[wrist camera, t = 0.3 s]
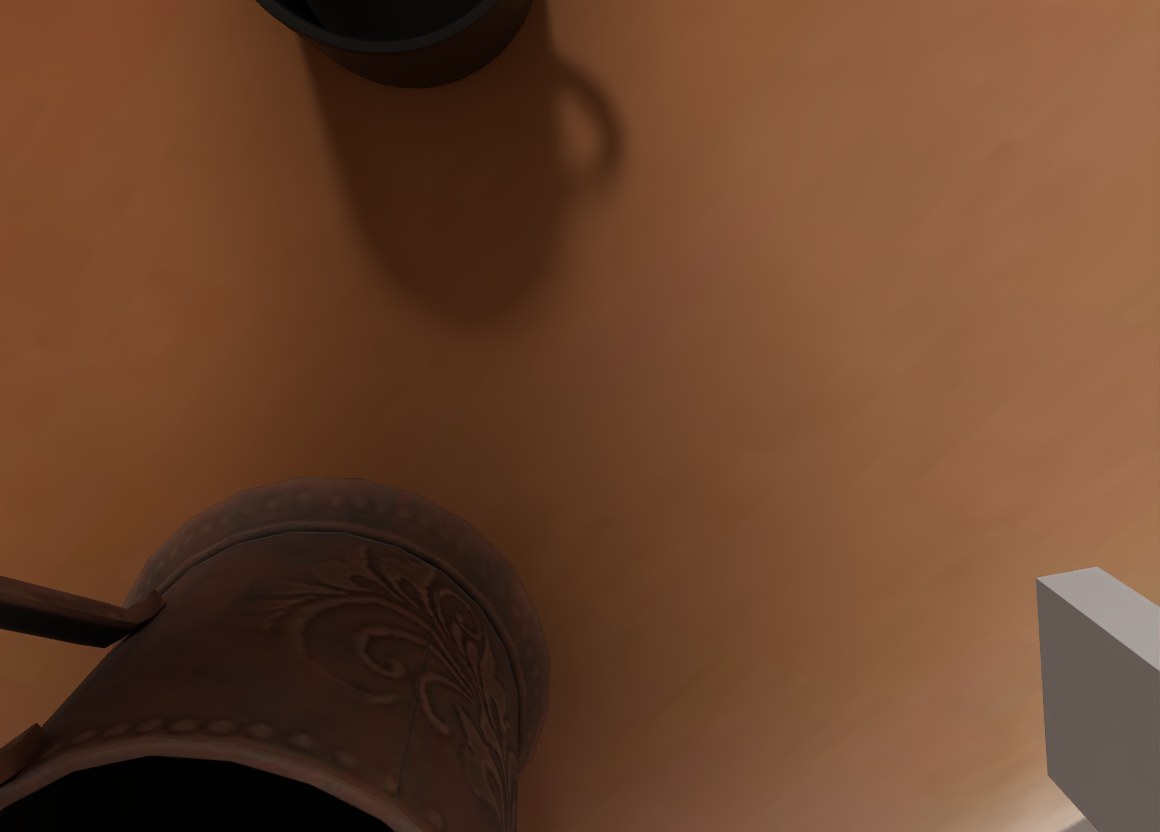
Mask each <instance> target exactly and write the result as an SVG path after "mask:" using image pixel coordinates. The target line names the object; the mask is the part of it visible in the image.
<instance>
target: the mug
mask: <svg viewBox="0 0 1160 832" xmlns="http://www.w3.org/2000/svg"><path fill="white" fill-rule="evenodd" d="M256 1H257V2H258V3H259V4H260V5H261V6H262V7H263V8H264V9H265V10H266V11H267V12H268V13H270V14H271V15H272V16H273V17H274V18H276V19H277V20H279V21H280V22H281V23H283V24H284V25H286V26H287V27H288V28H290V29H291V30H292V31H294V32H295V33H297V34H298V35H300V36H301V37H302V38H304V39H305V40H307V41H308V42H309V43H311V44H312V45H314V46H315V47H316V48H318V49H319V50H321V51H322V52H323V53H325V54H326V55H328V56H329V57H330V58H332V59H333V60H335V61H336V62H338V63H339V64H340V65H342V66H343V67H345V68H346V69H348V70H350V71H352V72H354V73H356V74H358V75H360V76H362V77H364V78H366V79H369V80H372V81H375V82H378V83H381V84H384V85H389V86H396V87H403V88H428V87H434V86H439V85H444V84H448V83H451V82H454V81H457V80H460V79H462V78H465V77H467V76H469V75H470V74H472V73H474V72H476V71H478V70H479V69H481V68H482V67H484V66H485V65H487V64H488V63H489V62H490V61H492V60H493V59H494V58H495V57H497V56H498V55H499V54H500V53H501V52H502V51H503V50H504V48H505V47H506V46H507V45H508V44H509V43H510V42H511V40H512V39H513V38H514V36H515V35H516V33H517V32H518V30H519V29H520V27H521V26H522V24H523V23H524V21H525V18H526V16H527V14H528V12H529V10H530V7H531V5H532V2H533V0H256Z"/></svg>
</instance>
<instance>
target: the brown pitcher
mask: <svg viewBox="0 0 1160 832" xmlns="http://www.w3.org/2000/svg"><path fill="white" fill-rule="evenodd" d="M0 629H5V630H10V631H15V632H20V633H25V634H30V635H35V636H40V637H45V638H50V639H55V640H60V641H65V642H70V643H74V644H80V645H86V646H93V647H100V648H106V647H108V646H110V645H111V644H113V643H114V646H113V649H112V650H111V651H110V652H109V653H108V654H107V655H106V656H105V657H104V659H103V660H102V661H101V662H100V663H99V664H98V665H97V666H96V667H95V669H94V670H93V671H92V672H91V673H90V674H89V675H88V676H87V677H86V678H85V680H84V681H83V682H82V683H81V684H80V685H79V686H78V687H77V688H76V690H75V691H74V692H73V693H72V694H71V695H70V696H69V697H68V698H67V699H66V701H65V702H64V703H63V704H62V705H61V706H60V707H59V708H58V709H57V711H56V712H55V713H54V714H53V715H52V716H51V717H50V718H49V719H48V720H47V722H46V723H45V724H44V725H43V726H42V727H40V726H39V725H38V724H37V723H36V724H34V725H33V726H31V727H30V728H29V729H27V730H26V731H24V732H23V733H22V734H20V735H19V736H17V737H16V738H15V739H13V740H12V741H10V742H9V743H8V744H6V745H5V746H3V747H2V748H1V749H0V832H517V780H518V778H519V777H520V775H521V774H522V772H523V771H524V770H525V768H526V767H527V765H528V764H529V762H530V761H531V759H532V758H533V755H534V752H535V748H536V745H537V742H538V739H539V736H540V733H541V730H542V727H543V724H544V721H545V718H546V715H547V712H548V700H549V670H550V658H549V654H548V650H547V647H546V643H545V639H544V635H543V631H542V627H541V623H540V619H539V616H538V612H537V609H536V607H535V605H534V603H533V602H532V600H531V598H530V597H529V595H528V593H527V592H526V590H525V588H524V586H523V585H522V583H521V581H520V580H519V578H518V576H517V575H516V573H515V571H514V569H513V568H512V566H511V564H510V563H509V562H508V561H507V560H506V559H505V558H504V557H503V556H502V555H501V554H500V553H499V552H498V551H497V550H496V549H495V548H494V547H493V546H492V545H491V544H490V543H489V542H488V541H487V540H486V539H485V538H484V537H483V536H482V535H481V534H480V533H479V532H477V531H476V530H475V529H474V528H473V527H472V526H471V525H470V524H469V523H468V522H466V521H464V520H462V519H461V518H459V517H457V516H455V515H454V514H452V513H450V512H448V511H447V510H445V509H443V508H441V507H439V506H438V505H436V504H434V503H432V502H431V501H429V500H427V499H425V498H424V497H422V496H420V495H418V494H415V493H411V492H408V491H404V490H400V489H397V488H393V487H389V486H386V485H382V484H378V483H375V482H371V481H367V480H363V479H358V478H306V477H299V478H295V479H290V480H286V481H282V482H278V483H273V484H269V485H265V486H261V487H256V488H252V489H248V490H244V491H240V492H239V493H237V494H235V495H233V496H231V497H229V498H227V499H225V500H224V501H222V502H220V503H218V504H216V505H214V506H212V507H211V508H209V509H207V510H205V511H203V512H201V513H199V514H197V515H196V516H194V517H192V518H190V519H189V520H188V521H187V522H186V523H185V524H184V525H183V526H182V527H181V528H180V529H179V530H177V531H176V532H175V533H174V534H173V535H172V536H171V537H170V538H169V539H168V540H167V541H166V542H165V543H164V544H163V545H162V546H161V547H160V548H159V549H158V550H157V551H156V552H155V553H154V554H153V555H152V556H150V557H149V559H148V561H147V563H146V564H145V566H144V568H143V570H142V571H141V573H140V575H139V577H138V579H137V580H136V582H135V584H134V586H133V587H132V589H131V591H130V593H129V594H128V596H127V598H126V600H125V601H124V603H123V605H122V608H121V607H118V606H114V605H111V604H108V603H104V602H100V601H96V600H92V599H89V598H85V597H81V596H77V595H73V594H69V593H65V592H61V591H58V590H54V589H50V588H46V587H42V586H38V585H34V584H30V583H27V582H23V581H19V580H15V579H11V578H7V577H3V576H0Z"/></svg>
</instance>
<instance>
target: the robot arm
mask: <svg viewBox="0 0 1160 832" xmlns="http://www.w3.org/2000/svg"><path fill="white" fill-rule="evenodd" d="M1036 587H1037V604H1038V620H1039V637H1040V654H1041V671H1042V687H1043V704H1044V721H1045V738H1046V754H1047V771H1048V776H1049V777H1050V778H1051V779H1052V780H1053V781H1054V782H1055V784H1056V785H1057V786H1058V787H1059V788H1060V789H1061V790H1062V791H1063V792H1064V794H1065V795H1066V796H1067V797H1068V798H1069V799H1070V800H1071V801H1072V802H1073V804H1074V805H1075V806H1076V807H1077V808H1078V809H1079V810H1080V811H1081V812H1082V814H1083V815H1084V816H1085V817H1086V818H1087V819H1088V820H1089V821H1090V822H1091V823H1092V825H1093V826H1094V827H1095V828H1096V829H1097V830H1098V831H1099V832H1160V607H1159V606H1157V605H1155V604H1154V603H1152V602H1151V601H1149V600H1148V599H1146V598H1145V597H1143V596H1142V595H1140V594H1139V593H1137V592H1136V591H1134V590H1133V589H1131V588H1129V587H1128V586H1126V585H1125V584H1123V583H1122V582H1120V581H1119V580H1117V579H1116V578H1114V577H1113V576H1111V575H1110V574H1108V573H1107V572H1105V571H1103V570H1102V569H1100V568H1099V567H1092V568H1087V569H1081V570H1076V571H1071V572H1065V573H1060V574H1054V575H1049V576H1044V577H1038V578H1036Z"/></svg>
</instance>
